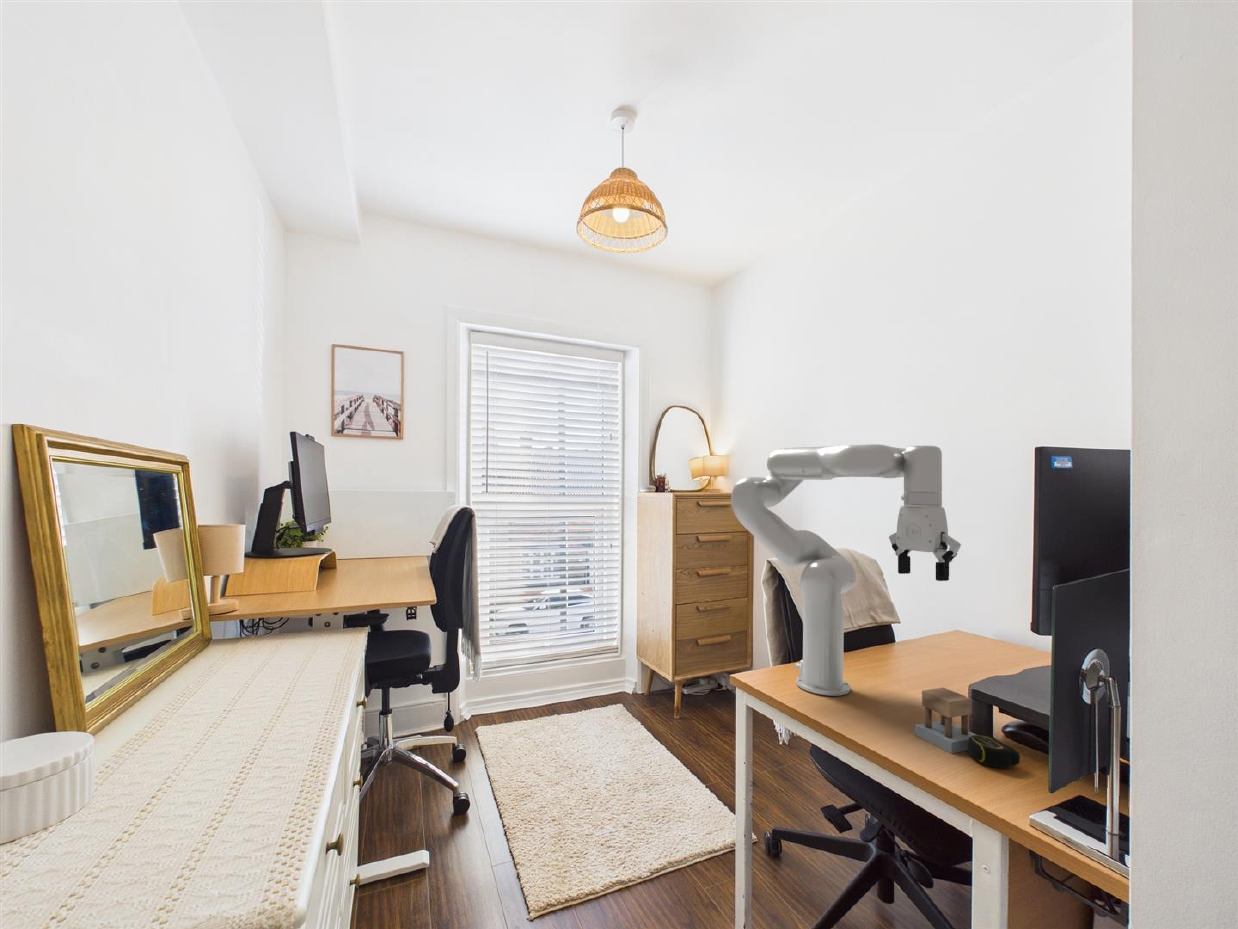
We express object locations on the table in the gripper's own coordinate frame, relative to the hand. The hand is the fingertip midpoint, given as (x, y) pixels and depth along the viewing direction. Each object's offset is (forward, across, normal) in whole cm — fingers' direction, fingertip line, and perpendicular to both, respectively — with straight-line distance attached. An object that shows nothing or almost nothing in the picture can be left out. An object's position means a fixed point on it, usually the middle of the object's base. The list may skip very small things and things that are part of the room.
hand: (922, 576), depth 120 cm
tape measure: (+31, +19, -6) cm, 37 cm away
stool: (+28, +11, -6) cm, 31 cm away
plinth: (+30, +11, -6) cm, 33 cm away
